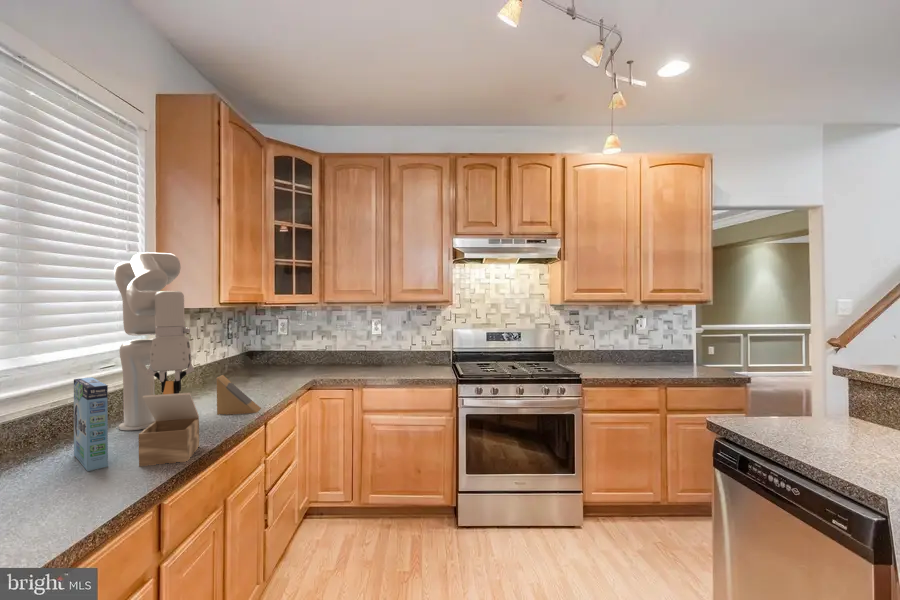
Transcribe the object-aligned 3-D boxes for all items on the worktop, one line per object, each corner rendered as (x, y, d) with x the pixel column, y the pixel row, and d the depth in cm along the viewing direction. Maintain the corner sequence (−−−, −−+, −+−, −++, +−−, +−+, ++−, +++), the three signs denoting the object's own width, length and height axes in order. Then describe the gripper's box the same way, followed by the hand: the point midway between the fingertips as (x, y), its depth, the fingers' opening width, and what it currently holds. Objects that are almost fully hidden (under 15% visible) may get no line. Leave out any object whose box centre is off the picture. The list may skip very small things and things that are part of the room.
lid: (155, 421, 143) (158, 406, 146) (198, 417, 146) (201, 403, 150) (142, 397, 133) (146, 382, 136) (189, 394, 136) (192, 379, 140)
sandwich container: (257, 413, 189) (257, 376, 189) (216, 415, 186) (216, 377, 186) (261, 408, 197) (261, 372, 197) (222, 410, 194) (222, 374, 194)
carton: (155, 450, 143) (155, 421, 143) (199, 446, 146) (198, 417, 146) (139, 466, 130) (138, 434, 130) (187, 461, 133) (186, 430, 133)
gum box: (73, 456, 139) (72, 379, 139) (95, 451, 143) (93, 376, 143) (86, 472, 126) (85, 387, 126) (109, 467, 130) (108, 384, 129)
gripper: (202, 330, 145) (204, 390, 145) (144, 332, 141) (145, 393, 141) (196, 332, 138) (197, 394, 138) (134, 334, 133) (136, 398, 134)
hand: (171, 393), depth 139 cm, fingers closed on lid, 2 cm apart
